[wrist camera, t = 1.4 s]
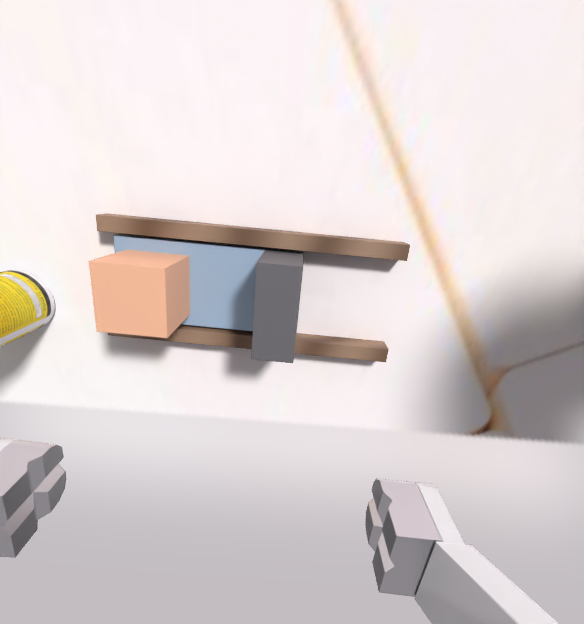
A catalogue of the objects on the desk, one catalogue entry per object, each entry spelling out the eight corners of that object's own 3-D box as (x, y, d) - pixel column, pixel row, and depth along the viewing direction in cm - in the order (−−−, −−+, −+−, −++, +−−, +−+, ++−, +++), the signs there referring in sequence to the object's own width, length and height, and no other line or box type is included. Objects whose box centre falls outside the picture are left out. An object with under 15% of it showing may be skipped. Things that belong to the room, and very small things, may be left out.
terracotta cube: (189, 255, 26) (164, 268, 22) (190, 314, 28) (167, 338, 23) (127, 249, 26) (88, 261, 22) (131, 308, 28) (96, 331, 23)
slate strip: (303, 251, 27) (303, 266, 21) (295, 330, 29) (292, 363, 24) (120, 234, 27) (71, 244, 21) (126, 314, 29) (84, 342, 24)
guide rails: (404, 242, 27) (409, 245, 25) (381, 353, 30) (385, 362, 29) (107, 213, 27) (95, 214, 25) (118, 328, 30) (108, 335, 29)
